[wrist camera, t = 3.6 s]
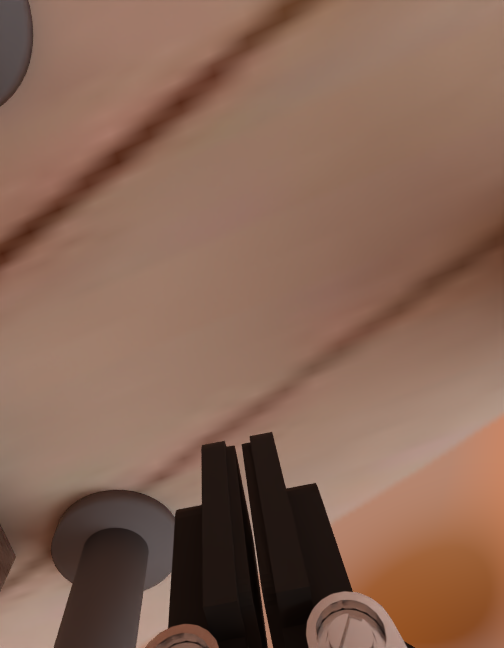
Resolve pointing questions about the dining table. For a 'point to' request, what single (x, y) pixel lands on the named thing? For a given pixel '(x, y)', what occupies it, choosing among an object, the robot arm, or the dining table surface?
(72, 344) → the dining table surface
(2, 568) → the breaker panel
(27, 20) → the knob
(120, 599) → the post
